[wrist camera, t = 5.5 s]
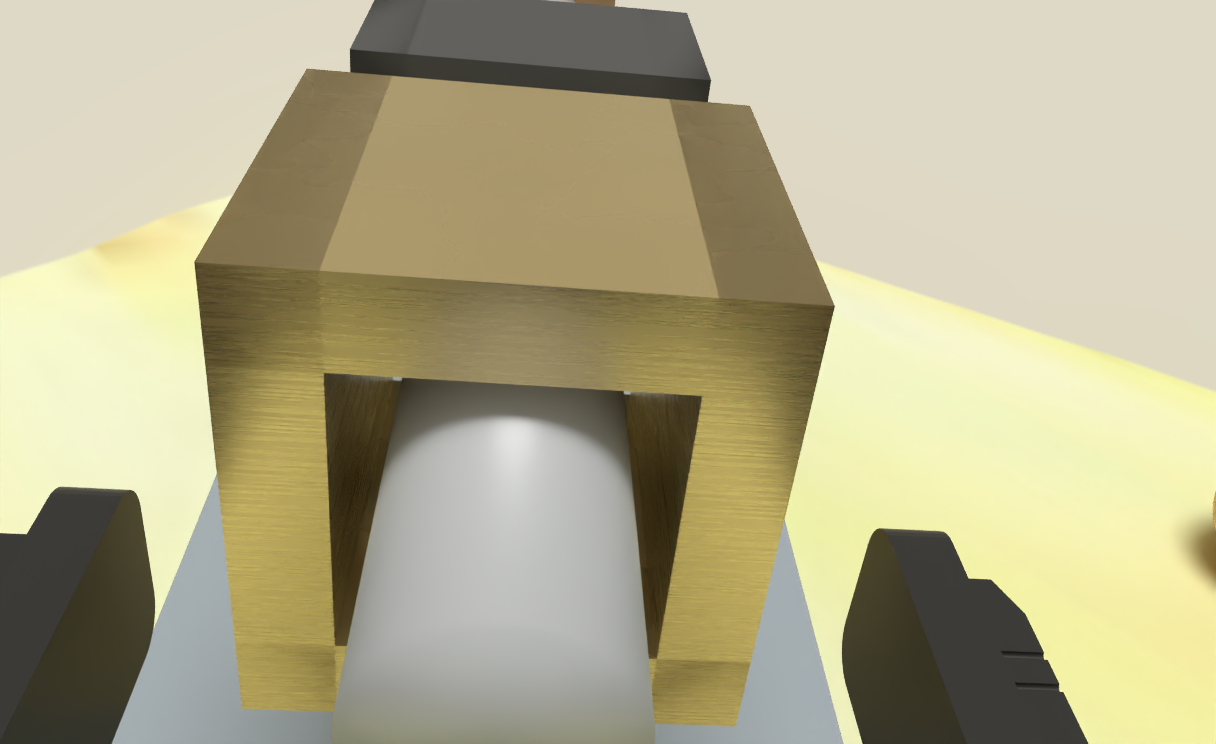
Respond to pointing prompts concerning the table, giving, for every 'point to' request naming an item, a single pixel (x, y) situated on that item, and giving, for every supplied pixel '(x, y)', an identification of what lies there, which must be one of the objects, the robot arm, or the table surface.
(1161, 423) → the table surface
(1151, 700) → the table surface
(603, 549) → the pipe rig
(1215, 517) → the figurine
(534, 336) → the sleeve
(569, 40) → the dark grey slab
